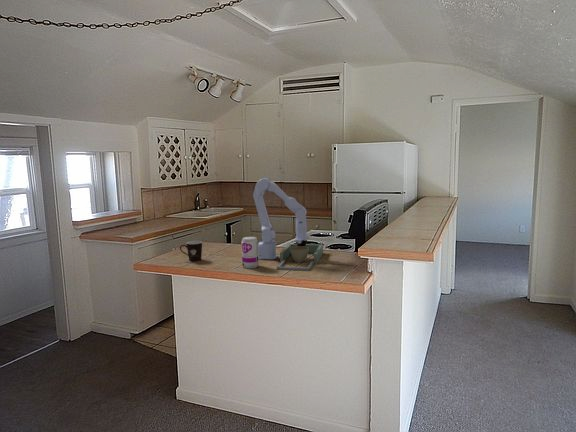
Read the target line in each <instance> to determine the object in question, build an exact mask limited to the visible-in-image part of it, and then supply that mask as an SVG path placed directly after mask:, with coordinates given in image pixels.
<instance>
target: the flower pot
mask: <svg viewBox="0 0 576 432" xmlns="http://www.w3.org/2000/svg"><path fill="white" fill-rule="evenodd" d="M290 251H291V254H290V255H291V258H292V259H293V261H294V262H295V263H304V262H305V260H306V259H307V257H308V254H309V253H308V251H309V248H308V247H305V246H295V247H291V248H290Z"/></svg>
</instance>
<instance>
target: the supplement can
mask: <svg viewBox="0 0 576 432" xmlns="http://www.w3.org/2000/svg"><path fill="white" fill-rule="evenodd" d="M240 242H241V260H242V261H241V263H242V267H243V268H245V269H255V268H257V267H258V266H259V259H258V244H259V241H258V239H257V237H256V236H244V237H242V239H241V241H240Z"/></svg>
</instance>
